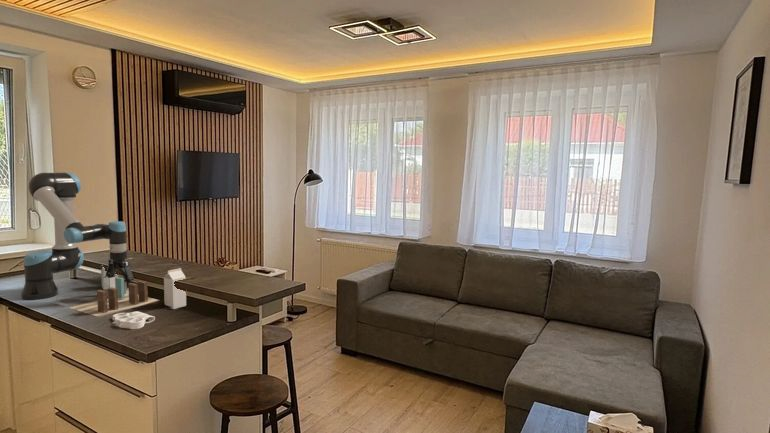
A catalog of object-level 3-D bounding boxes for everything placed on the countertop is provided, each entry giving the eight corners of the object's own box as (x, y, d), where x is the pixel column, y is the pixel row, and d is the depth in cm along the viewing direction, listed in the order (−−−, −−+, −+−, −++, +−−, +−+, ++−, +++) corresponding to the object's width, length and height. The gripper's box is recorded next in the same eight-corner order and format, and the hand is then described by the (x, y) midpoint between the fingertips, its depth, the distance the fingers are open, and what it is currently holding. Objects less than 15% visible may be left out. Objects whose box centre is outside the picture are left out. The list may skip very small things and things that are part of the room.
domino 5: (144, 302, 222) (144, 282, 221) (138, 300, 224) (138, 281, 223) (147, 301, 223) (147, 282, 222) (141, 299, 226) (141, 280, 225)
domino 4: (135, 304, 217) (134, 284, 216) (129, 303, 220) (128, 283, 219) (138, 303, 219) (137, 284, 218) (132, 302, 221) (131, 282, 220)
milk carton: (186, 305, 221) (185, 269, 219) (173, 309, 215) (172, 271, 213) (177, 303, 225) (176, 267, 223) (164, 307, 219) (163, 269, 217)
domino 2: (115, 310, 209) (114, 289, 208) (108, 308, 211) (107, 288, 210) (118, 309, 210) (117, 288, 209) (112, 307, 212) (111, 287, 211)
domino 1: (104, 313, 204) (103, 292, 203) (97, 311, 207) (97, 290, 205) (107, 312, 206) (106, 291, 205) (101, 310, 208) (100, 289, 207)
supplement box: (103, 290, 245) (102, 267, 244) (101, 287, 251) (100, 265, 249) (118, 288, 250) (117, 266, 248) (116, 285, 255) (115, 263, 254)
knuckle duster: (159, 323, 198) (126, 333, 185) (136, 315, 207) (103, 324, 194) (159, 315, 197) (126, 325, 185) (136, 308, 207) (103, 317, 194)
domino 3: (121, 298, 227) (120, 279, 226) (115, 296, 230) (115, 277, 229) (124, 297, 229) (123, 278, 228) (118, 295, 231) (118, 277, 230)
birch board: (67, 309, 211) (67, 307, 211) (128, 294, 237) (128, 292, 237) (99, 319, 199) (99, 317, 199) (160, 302, 226) (159, 300, 225)
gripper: (96, 250, 229) (98, 289, 231) (126, 255, 218) (127, 297, 220) (111, 247, 236) (113, 286, 238) (140, 252, 224) (142, 293, 227)
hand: (120, 291), depth 229 cm, fingers open, 13 cm apart
